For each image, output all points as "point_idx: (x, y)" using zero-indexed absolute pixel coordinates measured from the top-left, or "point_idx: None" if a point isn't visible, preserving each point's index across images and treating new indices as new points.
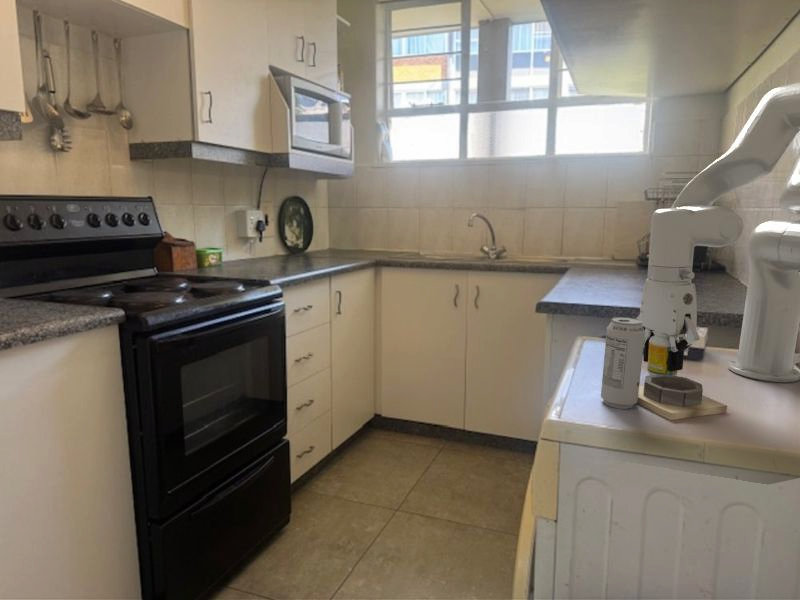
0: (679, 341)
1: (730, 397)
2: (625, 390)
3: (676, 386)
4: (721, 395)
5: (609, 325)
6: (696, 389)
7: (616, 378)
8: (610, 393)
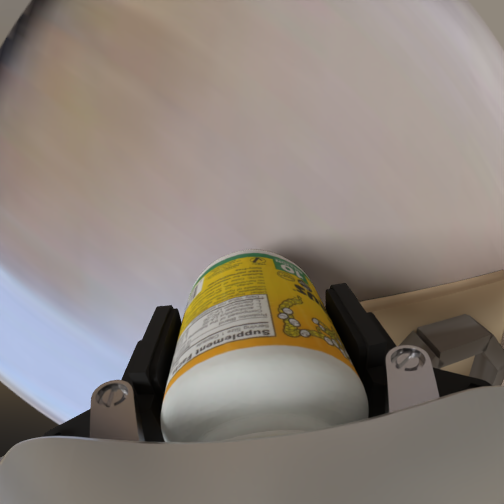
0: (386, 407)
1: (448, 156)
2: None
3: None
4: (430, 170)
5: None
6: (499, 370)
7: None
8: None
